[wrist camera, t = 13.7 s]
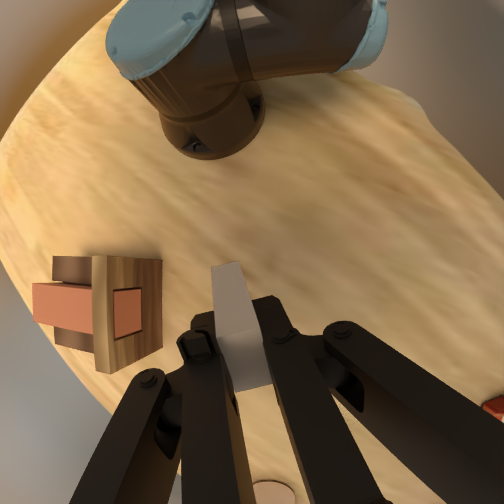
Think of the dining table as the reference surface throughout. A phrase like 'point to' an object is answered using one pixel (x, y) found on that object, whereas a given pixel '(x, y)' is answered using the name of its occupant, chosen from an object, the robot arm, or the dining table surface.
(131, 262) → the guide block
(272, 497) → the beverage can
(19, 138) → the dining table surface
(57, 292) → the peg
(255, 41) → the robot arm
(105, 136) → the dining table surface
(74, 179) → the dining table surface
